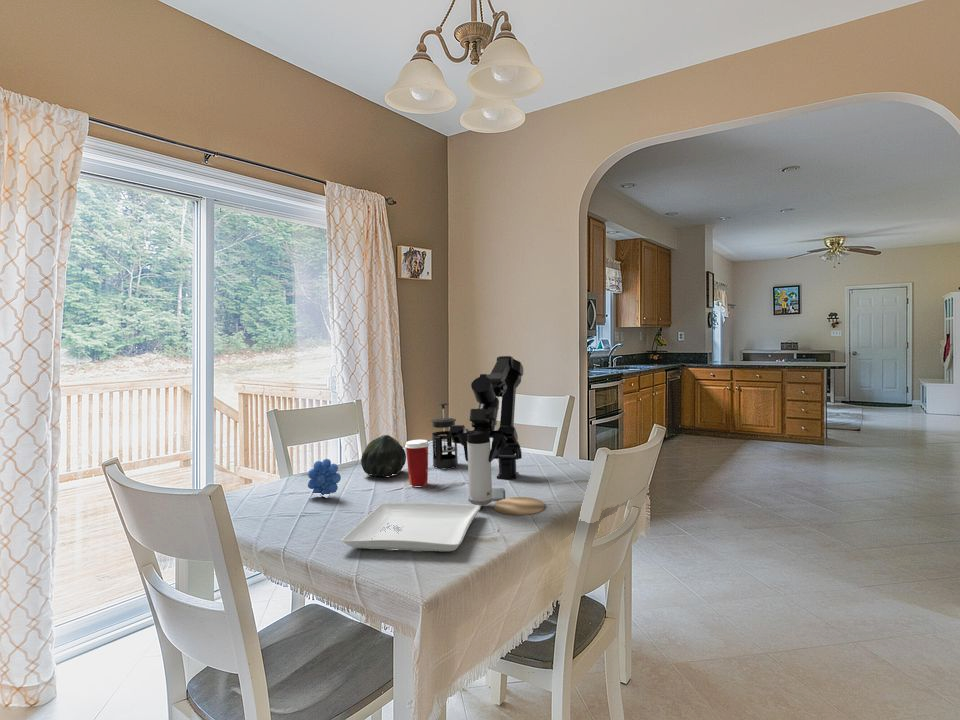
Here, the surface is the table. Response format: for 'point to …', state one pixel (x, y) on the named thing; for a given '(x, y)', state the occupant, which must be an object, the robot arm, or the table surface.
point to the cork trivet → (519, 506)
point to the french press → (438, 457)
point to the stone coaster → (497, 494)
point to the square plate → (413, 527)
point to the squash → (383, 457)
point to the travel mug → (479, 466)
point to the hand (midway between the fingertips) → (478, 460)
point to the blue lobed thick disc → (324, 477)
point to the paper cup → (417, 462)
